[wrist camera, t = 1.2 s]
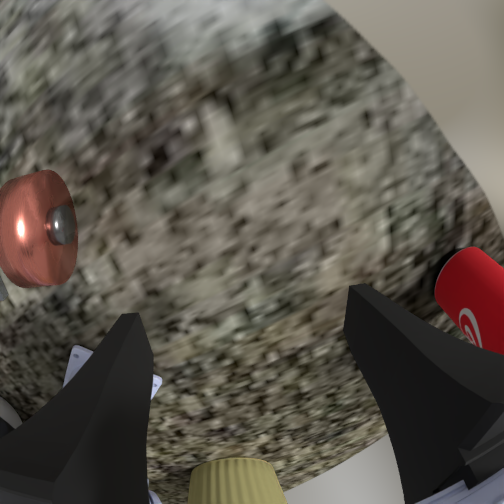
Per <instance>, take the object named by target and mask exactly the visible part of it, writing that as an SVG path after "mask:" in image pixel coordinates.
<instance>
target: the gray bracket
mask: <svg viewBox="0 0 504 504" xmlns="http://www.w3.org/2000/svg"><path fill="white" fill-rule="evenodd" d="M7 296H8V292H7V290H6V288H5V286H4V284H3V281H2V279H1V277H0V301H2V300H5V298H6V297H7Z"/></svg>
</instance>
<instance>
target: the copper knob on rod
mask: <svg viewBox="0 0 504 504" xmlns="http://www.w3.org/2000/svg"><path fill="white" fill-rule="evenodd" d="M77 251H78V230H77V221H76V215H75V210H74V206H73V202H72V199H71V196H70V193H69V191H68V188H67V186H66V184H65V183H64V181H63V180H62V178H61V177H60V176H59V175H58V174H57V173H55V172H54V171H52V170H42V171H39V172H35V173H31V174H28V175H24V176H21V177H17V178H14V179H11V180H9V181H8V182H6V183H5V184H4V185H3V186H2V188H1V189H0V266H1V268H2V270H3V271H4V273H5V274H6V276H7V277H8V278H9V279H10V280H11V281H12V282H13V283H14V284H16V285H17V286H19V287H22V288H32V287H41V286H51V285H60V284H63V283H65V282H66V281H67V280H68V279H69V278H70V276H71V274H72V272H73V270H74V267H75V263H76V258H77Z"/></svg>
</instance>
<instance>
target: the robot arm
mask: <svg viewBox="0 0 504 504" xmlns="http://www.w3.org/2000/svg"><path fill="white" fill-rule="evenodd" d="M343 331H344V334H345V336H346V339H347V342H348V345H349V348H350V350H351V353H352V355H353V357H354V359H355V361H356V363H357V365H358V367H359V369H360V371H361V372H362V374H363V376H364V378H365V380H366V382H367V384H368V386H369V388H370V390H371V392H372V394H373V396H374V398H375V400H376V402H377V404H378V406H379V408H380V411H381V414H382V416H383V419H384V422H385V425H386V428H387V431H388V434H389V437H390V440H391V443H392V446H393V450H394V453H395V457H396V461H397V465H398V469H399V473H400V478H401V484H402V489H403V494H404V501H405V504H504V355H503V354H499V353H496V352H492V351H489V350H486V349H483V348H480V347H478V346H475V345H472V344H470V343H467V342H465V341H463V340H460V339H458V338H456V337H454V336H452V335H450V334H447V333H445V332H443V331H441V330H440V329H438V328H436V327H434V326H432V325H430V324H429V323H427V322H425V321H424V320H422V319H420V318H418V317H417V316H415V315H414V314H412V313H410V312H409V311H407V310H406V309H404V308H403V307H401V306H400V305H398V304H397V303H395V302H393V301H392V300H390V299H389V298H387V297H386V296H384V295H383V294H381V293H380V292H378V291H377V290H375V289H374V288H372V287H371V286H369V285H367V284H365V283H364V284H358V285H351V286H349V292H348V300H347V307H346V314H345V321H344V328H343ZM161 384H162V378H161V377H159V376H157V375H154V374H153V352H152V350H151V347H150V344H149V341H148V338H147V336H146V333H145V330H144V327H143V324H142V321H141V318H140V315H139V313H127V314H122V315H121V316H120V317H119V319H118V320H117V321H116V323H115V324H114V325H113V327H112V328H111V329H110V331H109V332H108V333H107V335H106V336H105V337H104V339H103V340H102V341H101V343H100V344H99V345H98V347H97V348H96V349H95V351H94V352H93V351H91V350H88V349H86V348H84V347H81V346H79V345H74V346H73V348H72V351H71V355H70V359H69V363H68V367H67V371H66V375H65V379H64V384H63V388H62V389H61V390H60V391H59V393H58V394H57V395H56V396H55V397H53V398H52V399H51V400H50V401H49V402H48V403H47V404H46V405H45V406H43V407H42V408H41V409H40V410H39V411H38V412H37V413H35V414H34V415H33V416H32V417H31V418H29V419H28V420H27V421H25V422H24V423H23V424H21V425H20V426H19V427H17V428H16V429H14V430H13V431H11V432H10V433H8V434H7V435H5V436H4V437H2V438H0V504H162V503H161V501H160V499H159V497H158V496H157V494H156V493H155V492H153V491H151V490H148V478H147V458H146V440H147V428H148V419H149V411H150V403H151V399H152V398H153V396H154V395H155V393H156V392H157V390H158V389H159V387H160V385H161Z"/></svg>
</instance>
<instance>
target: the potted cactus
mask: <svg viewBox="0 0 504 504" xmlns="http://www.w3.org/2000/svg"><path fill="white" fill-rule="evenodd" d="M187 504H288V503H287V501H286V499H285V496H284V494H283V491H282V489H281V486H280V484H279V481H278V479H277V476H276V474H275V471H274V469H273V467H272V465H271V464H270V463H268V462H266V461H264V460H260V459H255V458H225V459H218V460H213V461H209V462H206V463H203V464H201V465H199V466H197V467H195V468H194V469H193V470H192V473H191V477H190V485H189V494H188V503H187Z"/></svg>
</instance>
